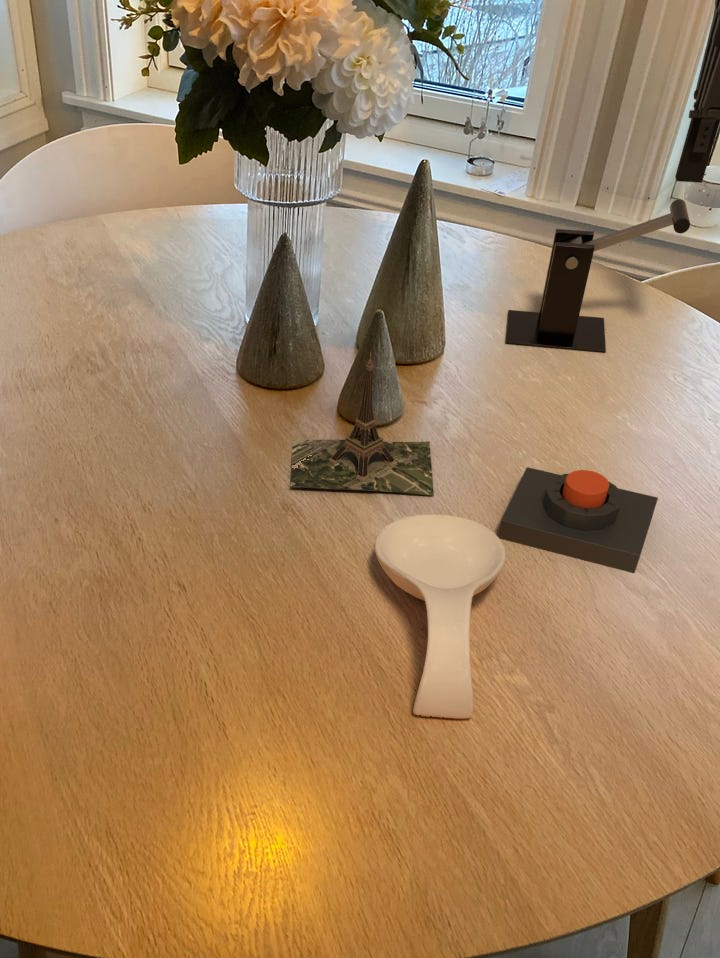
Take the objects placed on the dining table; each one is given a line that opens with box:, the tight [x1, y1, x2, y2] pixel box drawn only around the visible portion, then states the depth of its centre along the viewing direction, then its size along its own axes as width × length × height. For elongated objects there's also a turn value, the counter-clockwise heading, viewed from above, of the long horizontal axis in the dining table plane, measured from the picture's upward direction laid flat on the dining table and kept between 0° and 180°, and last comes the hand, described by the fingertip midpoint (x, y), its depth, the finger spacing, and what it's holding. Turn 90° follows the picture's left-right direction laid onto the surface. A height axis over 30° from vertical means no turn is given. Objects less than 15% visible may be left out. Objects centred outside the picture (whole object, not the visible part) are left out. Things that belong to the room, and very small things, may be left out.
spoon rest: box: [374, 513, 507, 720], centre depth 86 cm, size 24×12×7 cm, turn 175°
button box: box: [497, 466, 659, 574], centre depth 96 cm, size 13×10×4 cm
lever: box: [563, 198, 691, 252], centre depth 116 cm, size 14×6×2 cm, turn 76°
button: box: [562, 469, 610, 508], centre depth 95 cm, size 4×4×2 cm
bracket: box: [504, 228, 607, 354], centre depth 121 cm, size 12×9×13 cm
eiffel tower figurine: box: [289, 352, 435, 497], centre depth 101 cm, size 15×10×13 cm
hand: (688, 179), depth 110 cm, fingers closed
